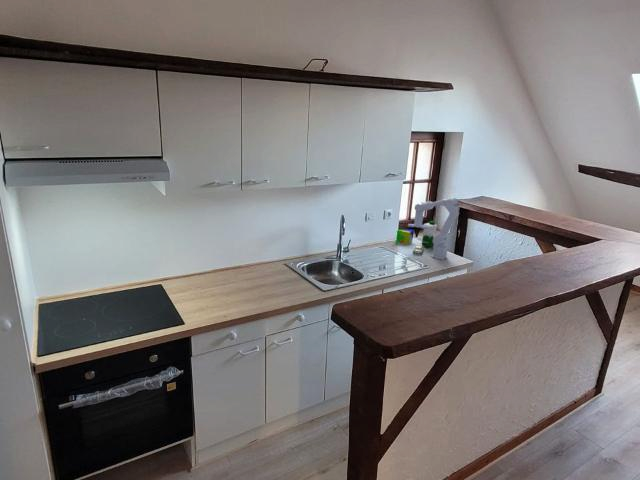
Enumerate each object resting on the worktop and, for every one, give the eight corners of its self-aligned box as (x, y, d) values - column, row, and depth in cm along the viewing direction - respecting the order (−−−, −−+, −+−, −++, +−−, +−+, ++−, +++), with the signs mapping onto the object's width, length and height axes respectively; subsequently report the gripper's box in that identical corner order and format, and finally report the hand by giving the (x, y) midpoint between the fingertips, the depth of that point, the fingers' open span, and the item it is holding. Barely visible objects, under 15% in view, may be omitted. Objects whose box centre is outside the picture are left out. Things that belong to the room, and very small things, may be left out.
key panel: (421, 255, 301) (421, 252, 301) (412, 253, 303) (413, 251, 302) (423, 248, 317) (423, 246, 316) (415, 247, 318) (415, 244, 318)
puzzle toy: (412, 241, 333) (413, 230, 330) (407, 244, 325) (409, 232, 322) (400, 239, 338) (401, 227, 335) (396, 242, 330) (397, 230, 327)
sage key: (420, 253, 303) (420, 251, 302) (414, 252, 304) (414, 250, 303) (420, 251, 306) (420, 249, 306) (415, 250, 307) (415, 249, 307)
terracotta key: (421, 247, 312) (422, 246, 311) (416, 247, 313) (416, 245, 312) (422, 246, 315) (422, 244, 315) (417, 245, 317) (417, 243, 316)
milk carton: (435, 246, 323) (438, 222, 317) (429, 249, 317) (432, 223, 311) (425, 244, 329) (429, 219, 323) (419, 246, 323) (422, 221, 317)
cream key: (421, 249, 307) (421, 247, 307) (415, 249, 308) (415, 247, 308) (421, 248, 311) (421, 246, 310) (416, 247, 312) (416, 245, 311)
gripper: (429, 219, 307) (426, 236, 311) (409, 217, 311) (407, 234, 315) (428, 221, 300) (426, 239, 304) (408, 219, 305) (406, 236, 309)
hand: (416, 237), depth 309 cm, fingers closed
